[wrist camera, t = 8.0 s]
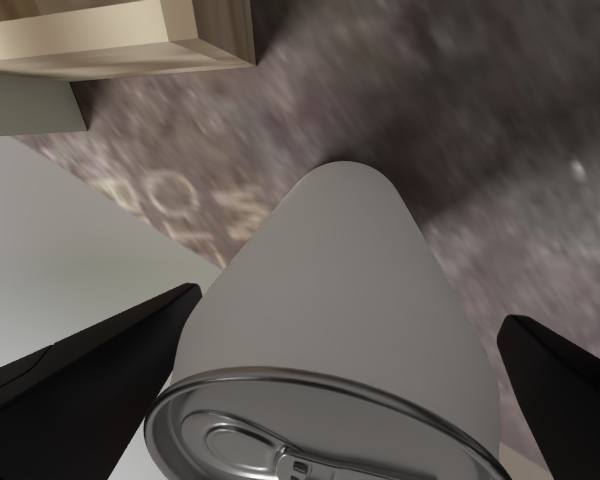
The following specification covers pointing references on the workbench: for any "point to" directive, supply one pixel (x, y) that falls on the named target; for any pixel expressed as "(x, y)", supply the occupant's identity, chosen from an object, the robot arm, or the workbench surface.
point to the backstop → (37, 106)
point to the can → (330, 353)
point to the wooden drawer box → (123, 37)
